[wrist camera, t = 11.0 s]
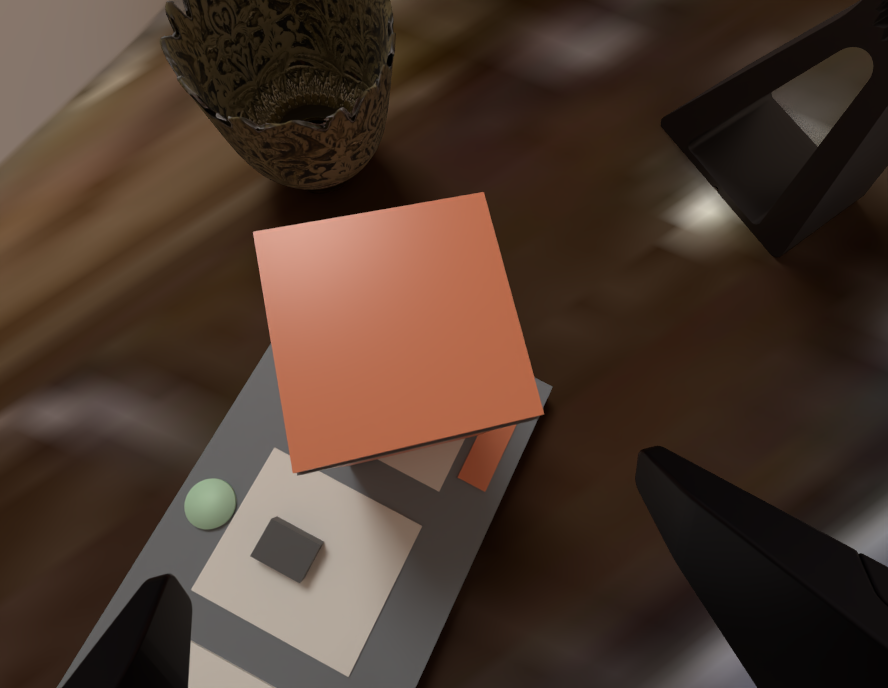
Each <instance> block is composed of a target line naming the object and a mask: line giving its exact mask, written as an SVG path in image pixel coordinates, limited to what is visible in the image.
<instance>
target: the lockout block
mask: <svg viewBox="0 0 888 688" xmlns="http://www.w3.org/2000/svg"><path fill="white" fill-rule="evenodd" d="M253 235H254V241H255V247H256V254H257V260H258V266H259V272H260V278H261V284H262V290H263V296H264V302H265V308H266V314H267V320H268V326H269V332H270V338H271V344H272V351H273V357H274V363H275V369H276V375H277V381H278V387H279V393H280V399H281V405H282V411H283V417H284V423H285V429H286V435H287V441H288V447H289V454H290V460H291V466H292V472H293V473H297V476H298V475H304V474H309V473H313V472H317V471H321V470H326V469H330V468H337V467H344V466H351V465H355V464H359V463H363V462H367V461H372V460H376V459H380V458H384V457H389V456H393V455H397V454H401V453H405V452H410V451H414V450H418V449H422V448H427V447H431V446H435V445H439V444H443V443H448V442H452V441H456V440H460V439H465V438H469V437H473V436H477V435H480V434H483V433H486V432H489V431H492V430H496V429H499V428H503V427H507V426H512V425H516V424H520V423H524V422H529V421H532V420H536V419H539V416H540V415H543V414H544V411H543V408H542V404H541V400H540V397H539V393H538V389H537V386H536V382H535V378H534V375H533V371H532V367H531V364H530V360H529V356H528V353H527V349H526V345H525V342H524V338H523V334H522V331H521V327H520V323H519V320H518V316H517V312H516V309H515V305H514V301H513V298H512V294H511V290H510V287H509V283H508V279H507V276H506V272H505V268H504V265H503V261H502V257H501V254H500V250H499V246H498V243H497V239H496V235H495V232H494V228H493V224H492V221H491V217H490V213H489V210H488V206H487V202H486V199H485V195H484V192H481V193H476V194H470V195H464V196H458V197H452V198H447V199H441V200H435V201H429V202H423V203H417V204H412V205H406V206H400V207H394V208H388V209H383V210H377V211H371V212H365V213H359V214H354V215H348V216H342V217H336V218H330V219H325V220H319V221H313V222H307V223H301V224H296V225H290V226H284V227H278V228H272V229H266V230H261V231H255V232H253Z"/></svg>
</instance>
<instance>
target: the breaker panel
mask: <svg viewBox="0 0 888 688" xmlns="http://www.w3.org/2000/svg"><path fill="white" fill-rule="evenodd" d="M535 382H536V386H537V389H538V393H539V397H540V400H541V404H542V408H543V407H544V405H545V402H546V400H547V398H548V396H549V394H550V391H551V389H552V386H550V385H548V384H546V383H544V382H542V381H540V380H538V379H536V378H535ZM537 420H538V419H536V420H532V421H529V422H524V423H520V424H516V425H512V426H507V427H503V428H499V429H496V430H492V431H489V432H486V433H483V434H480V435H477V436H473V437H469V438H465V439H460V440H456V441H452V442H448V443H443V444H439V445H435V446H431V447H427V448H422V449H418V450H414V451H410V452H405V453H401V454H397V455H393V456H389V457H384V458H380V459H376V460H372V461H367V462H363V463H359V464H355V465H351V466H344V467H337V468H330V469H326V470H321V471H317V472H313V473H309V474H304V475H298V476H297V473H293V472H292V466H291V460H290V454H289V447H288V441H287V435H286V429H285V423H284V417H283V411H282V405H281V399H280V393H279V387H278V381H277V375H276V369H275V363H274V357H273V351H272V344H270V346H269V347H268V349H267V350H266V352H265V354H264V355H263V357H262V359H261V360H260V362H259V363H258V365H257V367H256V368H255V370H254V371H253V373H252V375H251V376H250V378H249V379H248V381H247V383H246V384H245V386H244V387H243V389H242V391H241V392H240V394H239V396H238V397H237V399H236V400H235V402H234V404H233V405H232V407H231V408H230V410H229V412H228V413H227V415H226V416H225V418H224V420H223V421H222V423H221V424H220V426H219V428H218V429H217V431H216V433H215V434H214V436H213V437H212V439H211V441H210V442H209V444H208V445H207V447H206V449H205V450H204V452H203V453H202V455H201V457H200V458H199V460H198V461H197V463H196V465H195V466H194V468H193V470H192V471H191V473H190V474H189V476H188V478H187V479H186V481H185V482H184V484H183V486H182V487H181V489H180V490H179V492H178V494H177V495H176V497H175V498H174V500H173V502H172V503H171V505H170V507H169V508H168V510H167V511H166V513H165V515H164V516H163V518H162V519H161V521H160V523H159V524H158V526H157V527H156V529H155V531H154V532H153V534H152V535H151V537H150V539H149V540H148V542H147V543H146V545H145V547H144V548H143V550H142V552H141V553H140V555H139V556H138V558H137V560H136V561H135V563H134V564H133V566H132V568H131V569H130V571H129V572H128V574H127V576H126V577H125V579H124V580H123V582H122V584H121V585H120V587H119V589H118V590H117V592H116V593H115V595H114V597H113V598H112V600H111V601H110V603H109V605H108V606H107V608H106V609H105V611H104V613H103V614H102V616H101V617H100V619H99V621H98V622H97V624H96V626H95V627H94V629H93V630H92V632H91V634H90V635H89V637H88V638H87V640H86V642H85V643H84V645H83V646H82V648H81V650H80V651H79V653H78V654H77V656H76V658H75V659H74V661H73V663H72V664H71V666H70V667H69V669H68V671H67V672H66V674H65V675H64V677H63V679H62V680H61V682H60V683H59V685H58V687H57V688H62V687H63V685H64V684H65V683H66V681H67V680H68V679H69V678H70V676H71V675H72V674H73V672H74V671H75V670H76V669H77V667H78V666H79V665H80V663H81V662H82V661H83V660H84V658H85V657H86V656H87V654H88V653H89V652H90V651H91V649H92V648H93V647H94V645H95V644H96V643H97V642H98V640H99V639H100V638H101V636H102V635H103V634H104V633H105V631H106V630H107V629H108V627H109V626H110V625H111V624H112V622H113V621H114V620H115V618H116V617H117V616H118V615H119V613H120V612H121V611H122V609H123V608H124V607H125V606H126V604H127V603H128V602H129V600H130V599H131V598H132V597H133V595H134V594H135V593H136V591H137V590H138V589H139V588H140V586H141V585H142V584H143V583H144V582H145V581H146V580H147V579H149V578H152V577H156V576H160V575H163V574H167V573H171V574H173V575H174V576H175V577H176V578H177V579H178V581H179V582H180V584H181V585H182V587H183V588H184V590H185V591H186V592H187V594H188V595H189V597H190V599H191V602H192V608H193V613H192V630H191V647H190V664H189V681H188V688H416V686H417V683H418V681H419V679H420V677H421V675H422V673H423V670H424V668H425V666H426V664H427V662H428V659H429V657H430V655H431V653H432V651H433V648H434V646H435V644H436V642H437V640H438V637H439V635H440V633H441V631H442V629H443V626H444V624H445V622H446V620H447V618H448V615H449V613H450V611H451V609H452V607H453V604H454V602H455V600H456V598H457V596H458V593H459V591H460V589H461V587H462V585H463V582H464V580H465V578H466V576H467V574H468V571H469V569H470V567H471V565H472V563H473V561H474V558H475V556H476V554H477V552H478V550H479V547H480V545H481V543H482V541H483V539H484V536H485V534H486V532H487V530H488V528H489V525H490V523H491V521H492V519H493V517H494V514H495V512H496V510H497V508H498V506H499V503H500V501H501V499H502V497H503V495H504V492H505V490H506V488H507V486H508V484H509V481H510V479H511V477H512V475H513V473H514V470H515V468H516V466H517V464H518V462H519V460H520V457H521V455H522V453H523V451H524V449H525V446H526V444H527V442H528V440H529V438H530V435H531V433H532V431H533V429H534V427H535V424H536V422H537Z"/></svg>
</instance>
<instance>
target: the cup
mask: <svg viewBox="0 0 888 688" xmlns="http://www.w3.org/2000/svg"><path fill="white" fill-rule="evenodd" d="M183 4H184V7H185V10H184V11H186V15H187V16H186V15H185V14H184V13H183V12H182V11H181V10H180V9H179V8H178V7H177V6H176V5H175V4H174V2H173V1H167V2H166V6H165V10H166V15H167V17H168V19H169V22H170V24H171V26H172V28H173V31H174V34H173V36H172V35H170V36H164V37H162V38H161V39H160V45H161V48H162V50H163V52H164V54H165V57H166V59H167V60H168V62H169V64H170V66H171V67H172V69H173V70H174V72H175V74H176V75H177V80H178V81H179V83H180V84H181V86H182V87H183V88H184V89H185V90H186V92H187V93H188V94H189V95H190V96H191V97H192V98H193V99H194V100H195V102H196V103H197V104H198V105H199V107H200V108H201V109H202V111H203V112H204V113H205V114H206V116H207V117H208V118H209V119H210V121H211V122H212V123H213V124H214V126H215V127H216V128H217V129H218V130H219V132H220V133H221V134H222V135H223V137H224V138H225V139H226V140H227V141H228V143H229V144H230V145H231V146H232V147H233V148H234V150H235V151H236V152H237V153H238V154H239V155H240V156H241V157H242V158H243V159H244V160H245V161H246V162H247V163H248V164H249V165H250V166H252V167H253V168H254V169H255V170H257V171H258V172H259V173H261V174H262V175H263V176H265V177H267V178H269V179H270V180H273V181H275V182H277V183H279V184H282V185H285V186H288V187H292V188H296V189H303V190H306V191H309V192H313V193H328V192H332V191H335V190H337V189H339V188H341V187H342V186H344V185H345V184H346V183H347V182H348V181H349V180H350V179H351V178H352V177H353V176H355V175H356V174H357V173H358V172H360V171H361V170H362V169H363V168H364V167H365V166H366V165H367V163H368V162H369V161H370V159H371V158H372V156H373V155H374V153H375V152H376V150H377V148H378V145H379V143H380V140H381V138H382V135H383V131H384V127H385V123H386V118H387V112H388V104H389V95H390V86H391V76H392V65H393V57H394V52H395V36H396V34H395V33H393V13H392V7H391V2H390V0H183Z"/></svg>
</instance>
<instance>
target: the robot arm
mask: <svg viewBox="0 0 888 688" xmlns="http://www.w3.org/2000/svg"><path fill="white" fill-rule="evenodd" d="M635 480H636V485H637V488H638V491H639V493H640V494H641V496H642V498H643V500H644V502H645V504H646V506H647V508H648V510H649V512H650V514H651V516H652V518H653V520H654V522H655V524H656V526H657V528H658V530H659V531H660V533H661V535H662V537H663V539H664V541H665V543H666V545H667V547H668V549H669V551H670V553H671V554H672V556H673V558H674V560H675V561H676V563H677V565H678V566H679V568H680V570H681V571H682V573H683V574H684V576H685V577H686V579H687V580H688V582H689V583H690V585H691V587H692V588H693V590H694V591H695V593H696V594H697V596H698V597H699V599H700V600H701V602H702V603H703V605H704V607H705V608H706V610H707V611H708V613H709V614H710V616H711V617H712V619H713V620H714V622H715V623H716V625H717V627H718V628H719V630H720V631H721V633H722V634H723V636H724V637H725V639H726V640H727V642H728V643H729V645H730V647H731V648H732V650H733V651H734V653H735V654H736V656H737V657H738V659H739V660H740V662H741V663H742V665H743V667H744V668H745V670H746V671H747V673H748V674H749V676H750V677H751V679H752V680H753V682H754V683H755V685H756V686H757V688H888V567H887V566H885V565H883V564H881V563H879V562H877V561H875V560H874V559H872V558H870V557H868V556H866V555H864V554H862V553H860V554H858V552H857V551H856V550H855V549H853V548H851V547H849V546H847V545H845V544H843V543H841V542H840V541H838V540H836V539H834V538H832V537H830V536H828V535H827V534H825V533H823V532H821V531H819V530H817V529H815V528H813V527H812V526H810V525H808V524H806V523H804V522H802V521H800V520H798V519H797V518H795V517H793V516H791V515H789V514H787V513H785V512H784V511H782V510H780V509H778V508H776V507H774V506H772V505H770V504H769V503H767V502H765V501H763V500H761V499H759V498H757V497H756V496H754V495H752V494H750V493H748V492H746V491H744V490H742V489H741V488H739V487H737V486H735V485H733V484H731V483H729V482H728V481H726V480H724V479H722V478H720V477H718V476H716V475H714V474H713V473H711V472H709V471H707V470H705V469H703V468H701V467H699V466H698V465H696V464H694V463H692V462H690V461H688V460H686V459H685V458H683V457H681V456H679V455H677V454H675V453H673V452H671V451H670V450H668V449H666V448H664V447H661V446H654V447H650V448H646V449H643V450H641V451H640V452H639V454H638V460H637V468H636V476H635ZM192 613H193V608H192V602H191V599H190V597H189V595H188V594H187V592H186V591H185V590H184V588H183V587H182V585H181V584H180V582H179V581H178V579H177V578H176V577H175V576H174V575H173V574H171V573H167V574H163V575H160V576H156V577H152V578H149V579H147V580H146V581H145V582H144V583H143V584H142V585H141V586H140V588H139V589H138V590H137V591H136V593H135V594H134V595H133V597H132V598H131V599H130V600H129V602H128V603H127V604H126V606H125V607H124V608H123V609H122V611H121V612H120V613H119V615H118V616H117V617H116V618H115V620H114V621H113V622H112V624H111V625H110V626H109V627H108V629H107V630H106V631H105V633H104V634H103V635H102V636H101V638H100V639H99V640H98V642H97V643H96V644H95V645H94V647H93V648H92V649H91V651H90V652H89V653H88V654H87V656H86V657H85V658H84V660H83V661H82V662H81V663H80V665H79V666H78V667H77V669H76V670H75V671H74V672H73V674H72V675H71V676H70V678H69V679H68V680H67V681H66V683H65V684H64V685H63V687H62V688H188V681H189V664H190V647H191V630H192Z"/></svg>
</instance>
